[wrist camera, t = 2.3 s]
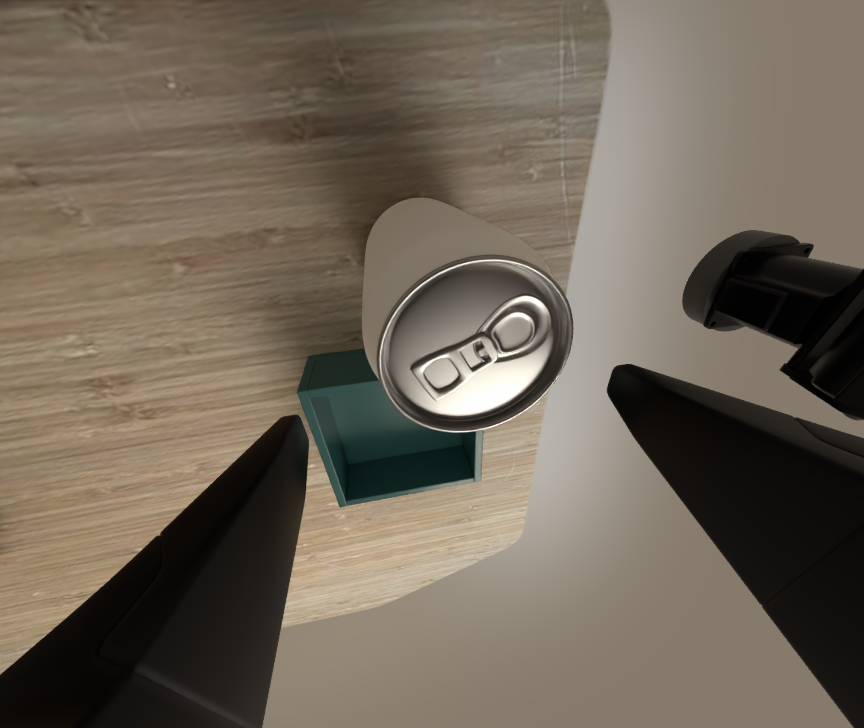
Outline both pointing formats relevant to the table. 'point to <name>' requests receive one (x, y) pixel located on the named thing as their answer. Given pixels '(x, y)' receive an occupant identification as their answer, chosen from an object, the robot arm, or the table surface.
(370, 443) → the teal shallow tray
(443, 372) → the can
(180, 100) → the table surface
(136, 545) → the table surface
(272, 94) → the table surface
